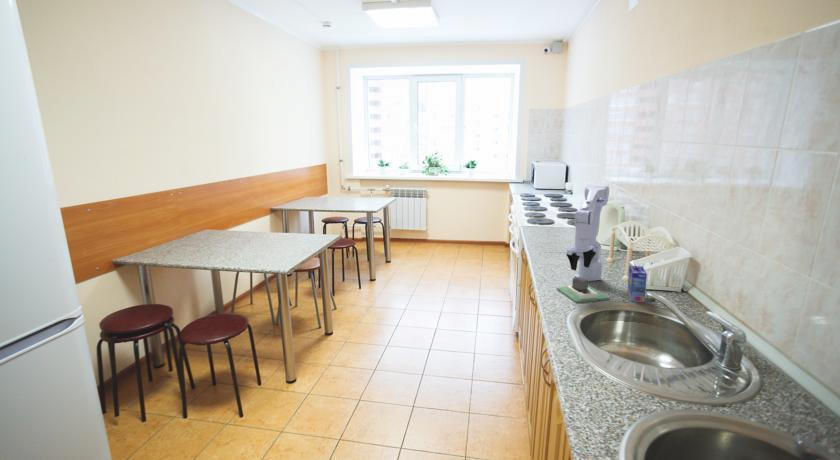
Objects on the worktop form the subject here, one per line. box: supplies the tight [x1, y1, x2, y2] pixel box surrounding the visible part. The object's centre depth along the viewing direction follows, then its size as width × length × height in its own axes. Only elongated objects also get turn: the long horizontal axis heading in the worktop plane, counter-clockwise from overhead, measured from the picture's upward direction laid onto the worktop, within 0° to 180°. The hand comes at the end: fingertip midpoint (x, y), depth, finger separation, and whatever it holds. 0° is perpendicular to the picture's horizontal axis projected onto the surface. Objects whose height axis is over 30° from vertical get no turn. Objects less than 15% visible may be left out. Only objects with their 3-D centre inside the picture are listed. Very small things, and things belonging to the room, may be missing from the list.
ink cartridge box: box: [627, 262, 648, 303], centre depth 164 cm, size 10×6×14 cm, turn 161°
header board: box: [556, 284, 611, 304], centre depth 170 cm, size 15×15×3 cm
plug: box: [571, 276, 589, 294], centre depth 169 cm, size 4×6×6 cm, turn 32°
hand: (580, 268), depth 174 cm, fingers open, 7 cm apart
